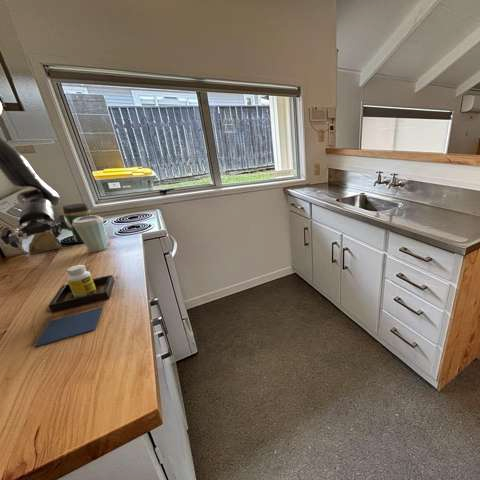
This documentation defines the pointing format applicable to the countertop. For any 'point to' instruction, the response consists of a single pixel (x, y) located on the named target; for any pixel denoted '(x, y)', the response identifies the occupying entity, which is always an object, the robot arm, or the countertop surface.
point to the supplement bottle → (80, 281)
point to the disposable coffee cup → (91, 232)
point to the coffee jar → (76, 216)
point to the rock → (43, 242)
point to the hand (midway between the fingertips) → (36, 239)
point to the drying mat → (69, 326)
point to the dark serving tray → (60, 305)
